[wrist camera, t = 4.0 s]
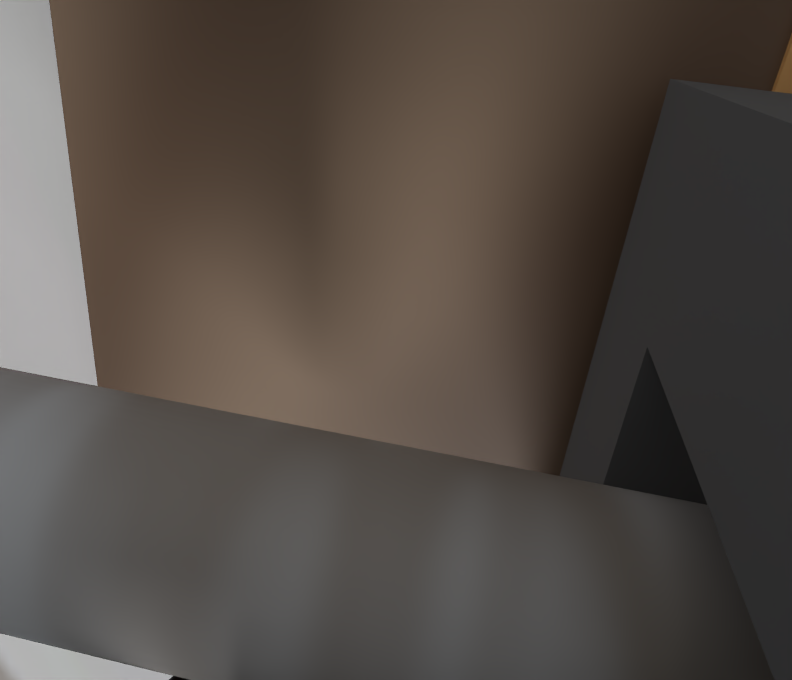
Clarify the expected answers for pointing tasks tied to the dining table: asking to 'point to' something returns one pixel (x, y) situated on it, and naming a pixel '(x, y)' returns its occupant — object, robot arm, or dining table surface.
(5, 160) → the dining table surface
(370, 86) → the pipe fixture
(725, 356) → the grey flat block
